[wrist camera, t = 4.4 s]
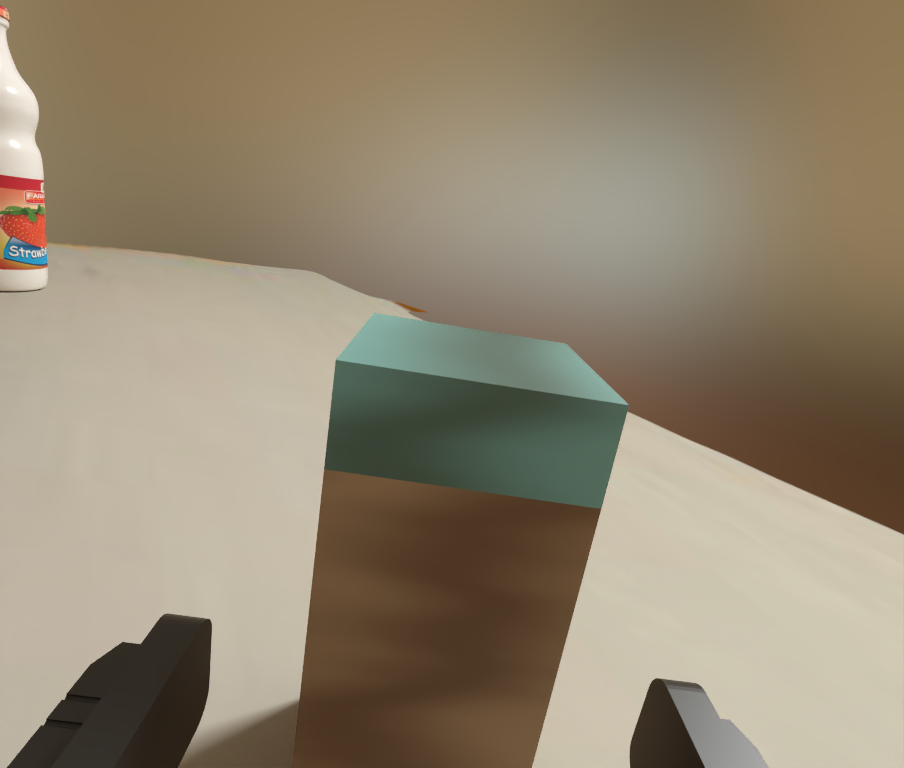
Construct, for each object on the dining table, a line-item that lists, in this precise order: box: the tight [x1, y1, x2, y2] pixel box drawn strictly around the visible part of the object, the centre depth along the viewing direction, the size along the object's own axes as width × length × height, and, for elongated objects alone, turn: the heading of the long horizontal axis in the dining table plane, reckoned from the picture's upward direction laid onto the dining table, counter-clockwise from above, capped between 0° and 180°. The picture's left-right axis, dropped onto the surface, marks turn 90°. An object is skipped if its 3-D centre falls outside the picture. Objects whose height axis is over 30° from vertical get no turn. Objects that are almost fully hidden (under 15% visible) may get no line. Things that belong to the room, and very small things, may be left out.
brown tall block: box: [292, 313, 629, 768], centre depth 13 cm, size 5×5×12 cm
